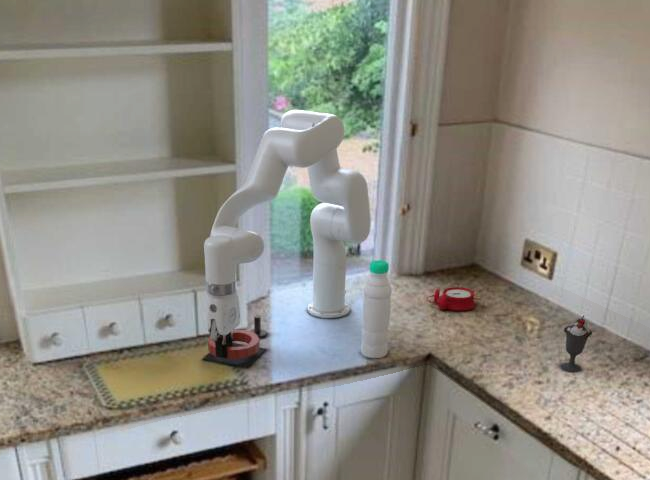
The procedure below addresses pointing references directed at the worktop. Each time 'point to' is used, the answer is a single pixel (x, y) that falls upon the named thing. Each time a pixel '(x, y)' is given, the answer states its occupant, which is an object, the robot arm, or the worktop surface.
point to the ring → (240, 351)
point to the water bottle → (376, 311)
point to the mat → (236, 362)
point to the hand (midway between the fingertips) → (224, 354)
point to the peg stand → (258, 327)
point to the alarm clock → (454, 299)
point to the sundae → (575, 343)
